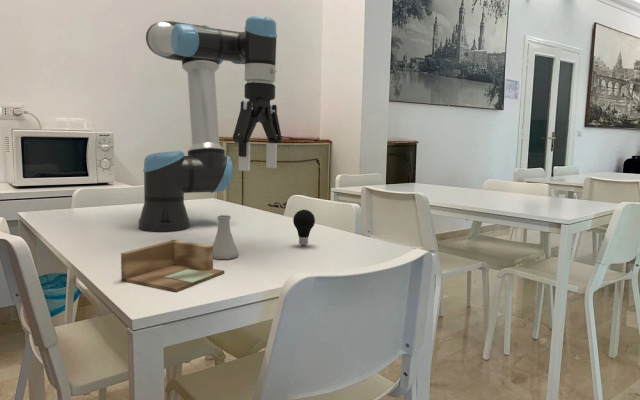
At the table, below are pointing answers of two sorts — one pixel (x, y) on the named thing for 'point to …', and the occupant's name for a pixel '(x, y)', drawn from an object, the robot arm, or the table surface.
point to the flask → (224, 240)
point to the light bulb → (303, 225)
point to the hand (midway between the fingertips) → (258, 169)
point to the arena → (169, 265)
